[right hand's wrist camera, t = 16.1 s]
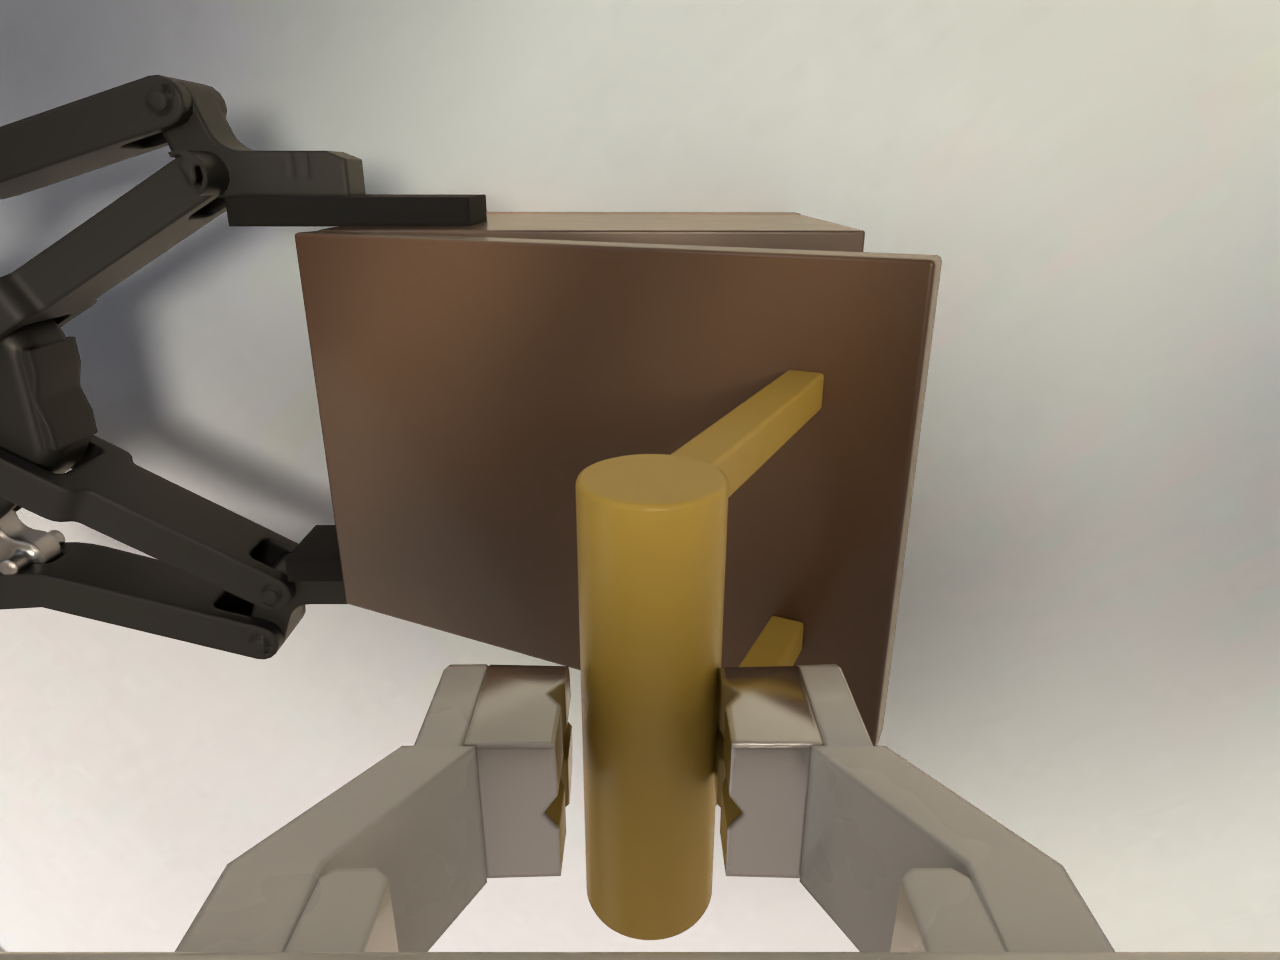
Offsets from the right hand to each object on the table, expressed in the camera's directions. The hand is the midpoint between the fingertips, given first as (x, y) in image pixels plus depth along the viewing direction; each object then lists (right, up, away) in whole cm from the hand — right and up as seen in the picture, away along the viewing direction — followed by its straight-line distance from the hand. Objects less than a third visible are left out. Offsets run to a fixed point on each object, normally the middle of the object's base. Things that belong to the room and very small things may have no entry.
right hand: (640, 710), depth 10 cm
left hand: (-5, +6, +15) cm, 16 cm away
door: (-1, +3, +9) cm, 10 cm away
